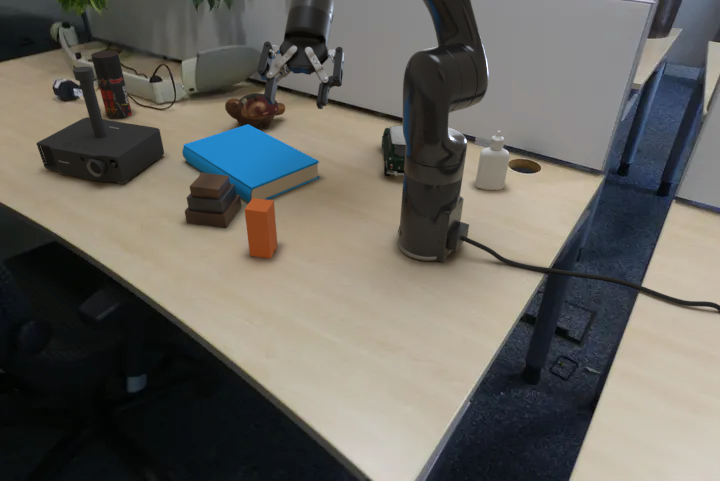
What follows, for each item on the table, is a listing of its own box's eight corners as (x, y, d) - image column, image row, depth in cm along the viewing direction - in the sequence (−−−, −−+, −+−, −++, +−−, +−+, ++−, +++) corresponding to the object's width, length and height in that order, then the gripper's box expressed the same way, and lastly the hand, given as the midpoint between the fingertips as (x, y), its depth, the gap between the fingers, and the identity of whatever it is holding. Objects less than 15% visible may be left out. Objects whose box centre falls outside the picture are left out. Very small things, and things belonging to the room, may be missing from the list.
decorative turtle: (219, 126, 133) (215, 94, 129) (272, 116, 141) (271, 85, 137) (239, 138, 126) (236, 104, 122) (293, 126, 135) (292, 94, 131)
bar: (277, 246, 93) (273, 200, 87) (270, 258, 90) (266, 212, 84) (257, 243, 93) (252, 197, 88) (249, 255, 90) (244, 209, 85)
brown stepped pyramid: (241, 206, 103) (237, 173, 99) (226, 227, 97) (221, 193, 93) (204, 201, 104) (198, 168, 100) (186, 222, 98) (180, 188, 94)
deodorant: (107, 111, 139) (92, 51, 131) (132, 109, 141) (118, 49, 132) (106, 120, 135) (89, 58, 126) (131, 117, 136) (117, 56, 128)
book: (247, 123, 125) (319, 158, 110) (249, 141, 127) (320, 177, 113) (179, 145, 115) (249, 187, 100) (183, 164, 117) (252, 207, 103)
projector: (37, 175, 111) (2, 78, 100) (93, 142, 124) (68, 53, 113) (117, 190, 107) (91, 90, 95) (167, 155, 120) (148, 63, 108)
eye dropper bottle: (481, 178, 114) (490, 124, 107) (506, 186, 111) (517, 131, 104) (472, 186, 111) (480, 131, 104) (498, 194, 108) (508, 138, 101)
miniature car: (419, 145, 127) (422, 112, 122) (428, 183, 112) (432, 147, 107) (380, 144, 126) (382, 111, 122) (384, 182, 112) (386, 146, 107)
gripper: (264, 1, 91) (246, 91, 88) (347, 6, 89) (332, 98, 86) (276, 26, 98) (260, 110, 96) (353, 31, 96) (339, 118, 94)
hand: (294, 104), depth 91 cm, fingers open, 8 cm apart
